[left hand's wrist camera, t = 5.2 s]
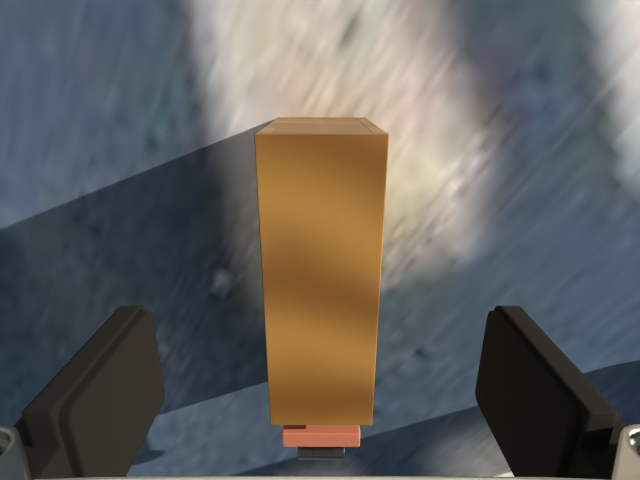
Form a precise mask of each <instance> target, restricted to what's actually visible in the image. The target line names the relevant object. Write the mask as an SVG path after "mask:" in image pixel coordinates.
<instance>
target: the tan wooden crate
mask: <svg viewBox="0 0 640 480" xmlns="http://www.w3.org/2000/svg"><path fill="white" fill-rule="evenodd" d="M254 137H255V155H256V173H257V191H258V209H259V227H260V245H261V262H262V280H263V298H264V316H265V334H266V352H267V370H268V388H269V406H270V424H271V425H372V414H373V397H374V380H375V363H376V345H377V328H378V311H379V294H380V277H381V260H382V243H383V226H384V208H385V191H386V174H387V157H388V140H389V134H388V133H386V132H385V131H383V130H382V129H380V128H379V127H377V126H376V125H375V124H373V123H372V122H370V121H369V120H368V119H366V118H277V119H275V120H274V121H273V122H271V123H270V124H268V125H267V126H266V127H264V128H263V129H261V130H260V131H259V132H257V133H255V134H254Z"/></svg>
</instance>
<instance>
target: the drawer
mask: <svg viewBox="0 0 640 480" xmlns="http://www.w3.org/2000/svg"><path fill="white" fill-rule="evenodd" d="M282 443H283V447H298V459H345V447H359V446H360V427H359V425H283V430H282Z"/></svg>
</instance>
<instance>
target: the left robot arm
mask: <svg viewBox="0 0 640 480" xmlns="http://www.w3.org/2000/svg"><path fill="white" fill-rule="evenodd" d="M164 393H165V390H164V383H163V377H162V371H161V365H160V359H159V353H158V347H157V340H156V334H155V328H154V322H153V316H152V313H151V312H150V311H146V309H145V307H144V306H120V307H119V308H118V309H117V310H116V311H115V312H114V313H113V314H112V315H111V317H110V318H109V319H108V320H107V321H106V322H105V323H104V324H103V325H102V326H101V327H100V328H99V329H98V331H97V332H96V333H95V334H94V335H93V336H92V337H91V338H90V339H89V340H88V341H87V342H86V343H85V345H84V346H83V347H82V348H81V349H80V350H79V351H78V352H77V353H76V354H75V355H74V356H73V357H72V359H71V360H70V361H69V362H68V363H67V364H66V365H65V366H64V367H63V368H62V369H61V370H60V371H59V373H58V374H57V375H56V376H55V377H54V378H53V379H52V380H51V381H50V382H49V383H48V384H47V385H46V387H45V388H44V389H43V390H42V391H41V392H40V393H39V394H38V395H37V396H36V397H35V398H34V399H33V401H32V402H31V403H30V404H29V405H28V406H27V407H26V408H25V409H24V410H23V411H22V412H21V413H22V417H21V418H20V420H19V421H18V422H17V423H16V424H15V425H14V426H11V425H5V424H0V480H640V424H635V425H629V426H626V425H625V424H624V423H623V422H622V421H621V420H620V418H619V417H618V413H619V412H618V411H617V410H616V409H615V408H614V407H613V406H612V405H611V404H610V403H609V402H608V401H607V399H606V398H605V397H604V396H603V395H602V394H601V393H600V392H599V391H598V390H597V389H596V388H595V387H594V385H593V384H592V383H591V382H590V381H589V380H588V379H587V378H586V377H585V376H584V375H583V374H582V373H581V371H580V370H579V369H578V368H577V367H576V366H575V365H574V364H573V363H572V362H571V361H570V360H569V359H568V357H567V356H566V355H565V354H564V353H563V352H562V351H561V350H560V349H559V348H558V347H557V346H556V345H555V343H554V342H553V341H552V340H551V339H550V338H549V337H548V336H547V335H546V334H545V333H544V332H543V331H542V329H541V328H540V327H539V326H538V325H537V324H536V323H535V322H534V321H533V320H532V319H531V318H530V317H529V315H528V314H527V313H526V312H525V311H524V310H523V309H522V308H521V307H520V306H496V307H495V309H494V311H490V312H489V313H488V316H487V322H486V328H485V334H484V340H483V347H482V353H481V359H480V365H479V371H478V377H477V383H476V390H475V394H476V400H477V403H478V405H479V407H480V409H481V411H482V413H483V415H484V417H485V419H486V421H487V423H488V425H489V427H490V429H491V431H492V433H493V435H494V437H495V439H496V441H497V443H498V445H499V447H500V449H501V451H502V453H503V455H504V457H505V459H506V461H507V463H508V465H509V467H510V469H511V471H512V473H513V475H514V477H450V476H190V477H126V475H127V473H128V471H129V469H130V467H131V465H132V463H133V461H134V459H135V457H136V455H137V453H138V451H139V449H140V447H141V445H142V443H143V441H144V439H145V437H146V435H147V433H148V431H149V429H150V427H151V425H152V423H153V421H154V419H155V417H156V415H157V413H158V411H159V409H160V407H161V405H162V403H163V400H164Z"/></svg>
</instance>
